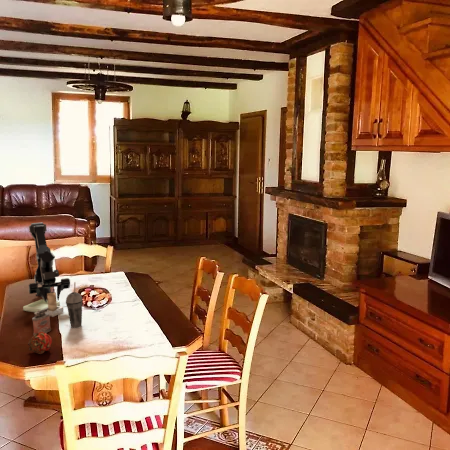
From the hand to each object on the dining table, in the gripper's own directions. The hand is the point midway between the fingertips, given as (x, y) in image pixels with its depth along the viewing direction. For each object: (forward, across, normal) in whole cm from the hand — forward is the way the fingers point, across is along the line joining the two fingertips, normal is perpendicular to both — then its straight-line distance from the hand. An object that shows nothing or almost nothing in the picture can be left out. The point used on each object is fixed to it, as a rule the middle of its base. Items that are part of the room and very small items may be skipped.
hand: (52, 301), depth 231 cm
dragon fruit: (+34, -10, -25) cm, 43 cm away
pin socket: (+4, 0, +6) cm, 7 cm away
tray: (-4, -4, +14) cm, 15 cm away
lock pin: (+4, 0, +6) cm, 7 cm away
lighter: (+20, -7, -10) cm, 24 cm away
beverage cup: (+20, +7, -10) cm, 23 cm away
